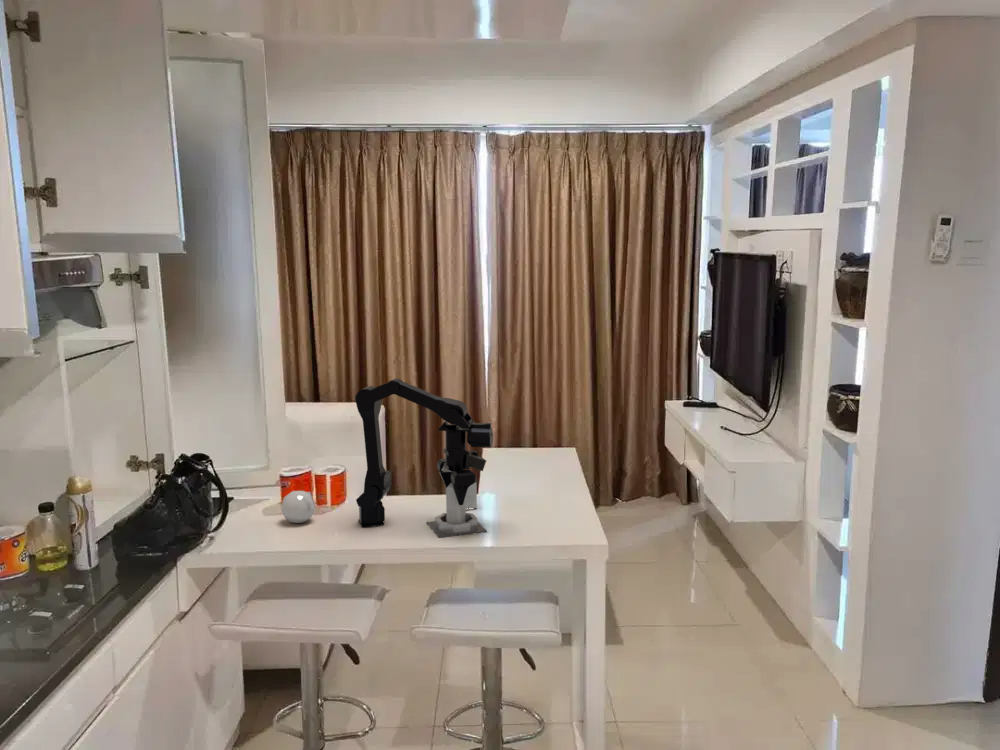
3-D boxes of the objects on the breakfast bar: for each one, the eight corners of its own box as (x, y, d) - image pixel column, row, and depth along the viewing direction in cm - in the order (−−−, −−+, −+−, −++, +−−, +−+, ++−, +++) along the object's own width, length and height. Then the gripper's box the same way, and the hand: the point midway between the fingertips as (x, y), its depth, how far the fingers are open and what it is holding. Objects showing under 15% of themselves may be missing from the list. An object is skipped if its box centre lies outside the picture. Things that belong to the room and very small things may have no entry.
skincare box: (451, 522, 217) (451, 482, 215) (465, 523, 216) (465, 482, 214) (446, 529, 211) (445, 487, 209) (460, 530, 210) (460, 488, 209)
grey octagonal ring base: (438, 538, 205) (438, 528, 205) (426, 523, 217) (426, 514, 217) (487, 532, 210) (487, 522, 210) (472, 518, 222) (472, 508, 222)
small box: (477, 509, 230) (476, 476, 229) (459, 511, 228) (459, 477, 227) (468, 502, 238) (468, 469, 236) (451, 504, 236) (451, 471, 234)
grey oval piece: (290, 533, 213) (300, 522, 228) (319, 512, 214) (326, 503, 229) (270, 507, 212) (281, 498, 227) (299, 486, 213) (308, 478, 228)
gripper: (494, 451, 205) (494, 506, 207) (472, 437, 222) (472, 489, 224) (454, 454, 201) (455, 511, 203) (436, 440, 218) (436, 492, 220)
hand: (456, 500), depth 213 cm, fingers open, 9 cm apart
